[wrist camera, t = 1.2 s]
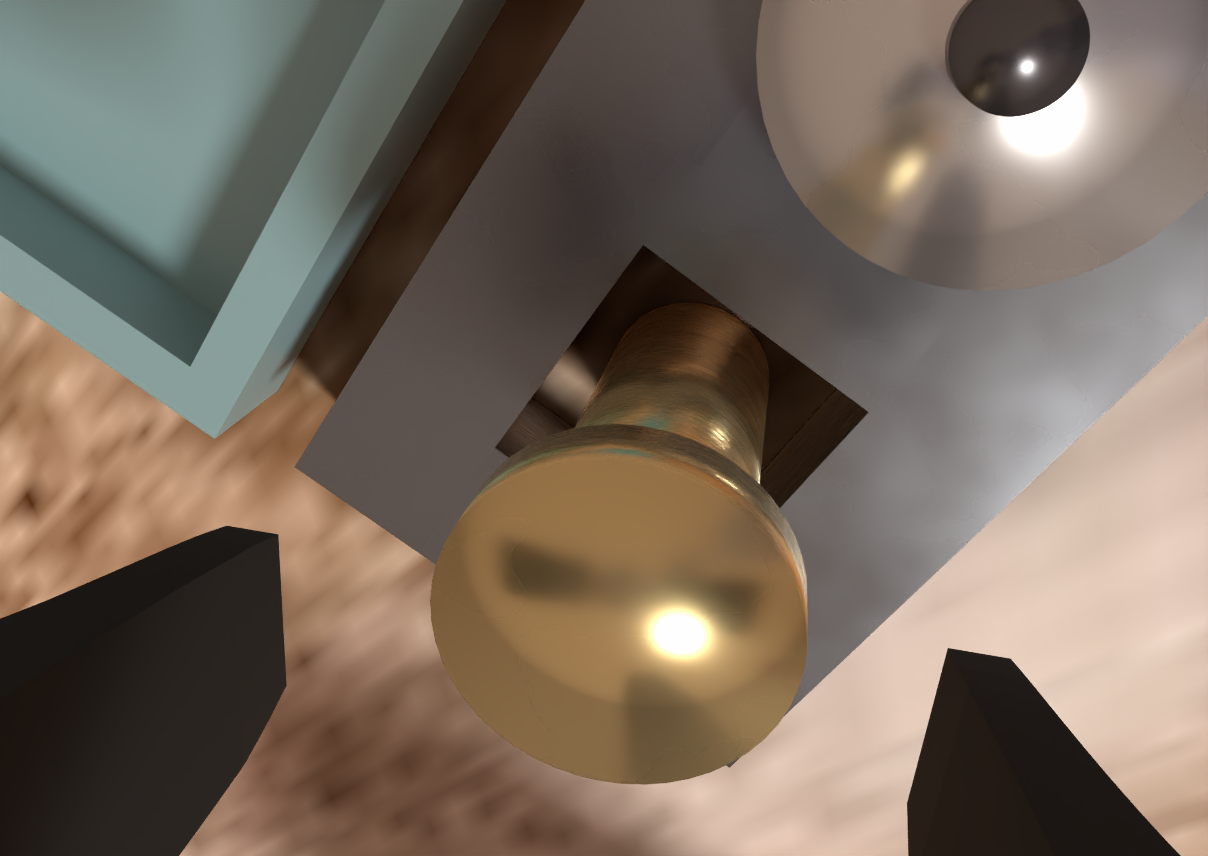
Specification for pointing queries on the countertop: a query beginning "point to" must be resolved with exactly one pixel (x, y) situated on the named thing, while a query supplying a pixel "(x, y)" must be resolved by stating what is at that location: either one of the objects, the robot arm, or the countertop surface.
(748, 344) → the pin
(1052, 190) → the grey flat block
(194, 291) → the pin tray
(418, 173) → the countertop surface
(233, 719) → the robot arm
